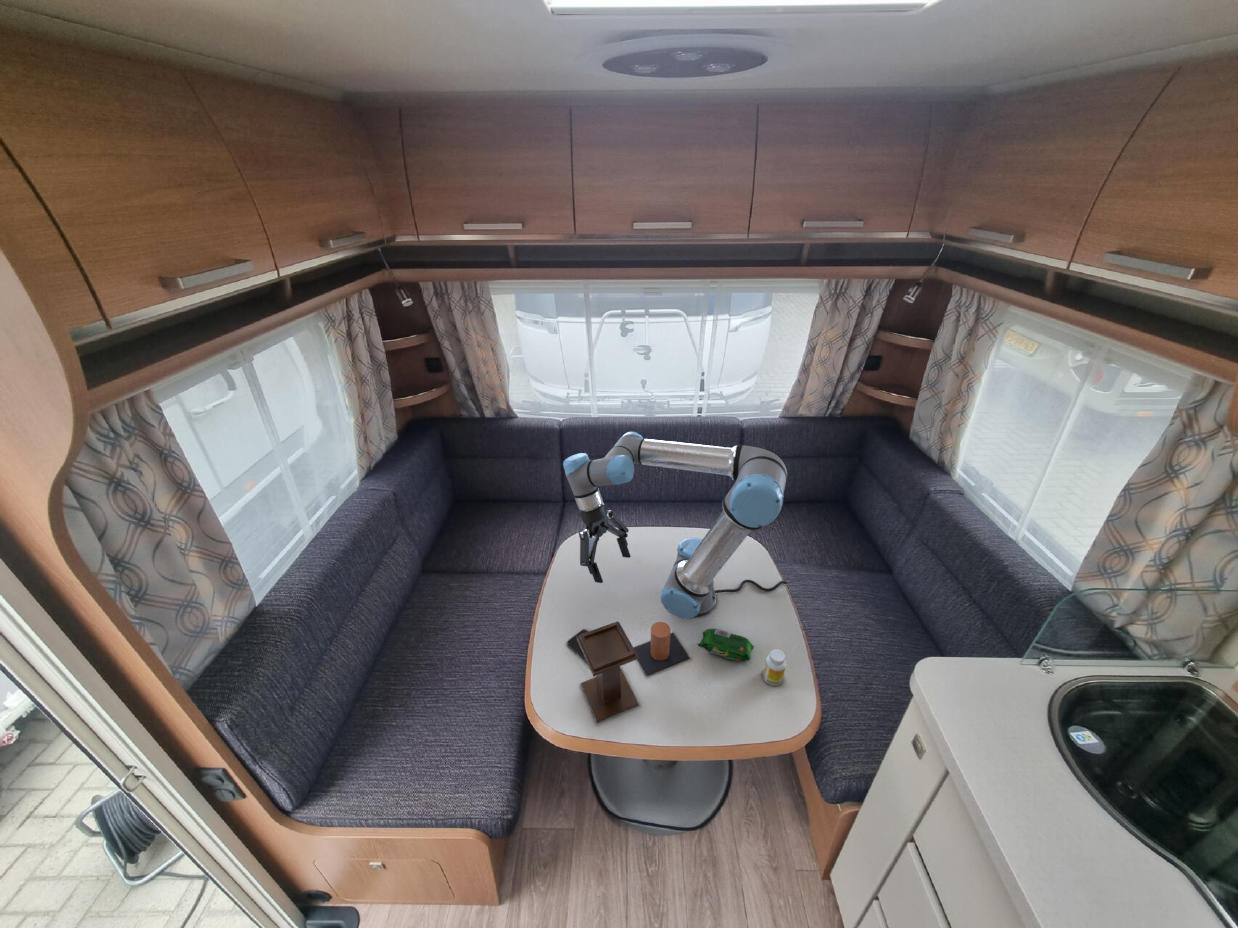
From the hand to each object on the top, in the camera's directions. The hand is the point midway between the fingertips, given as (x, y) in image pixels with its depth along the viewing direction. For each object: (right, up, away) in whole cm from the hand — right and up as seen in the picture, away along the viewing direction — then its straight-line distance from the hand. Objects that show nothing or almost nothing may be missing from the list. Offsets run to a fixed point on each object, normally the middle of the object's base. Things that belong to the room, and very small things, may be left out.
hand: (613, 569), depth 146 cm
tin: (+14, -24, -2) cm, 28 cm away
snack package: (+33, -24, -1) cm, 41 cm away
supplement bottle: (+45, -29, -9) cm, 54 cm away
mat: (+14, -25, -2) cm, 29 cm away
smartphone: (-6, -25, -1) cm, 25 cm away
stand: (-1, -32, -13) cm, 34 cm away
